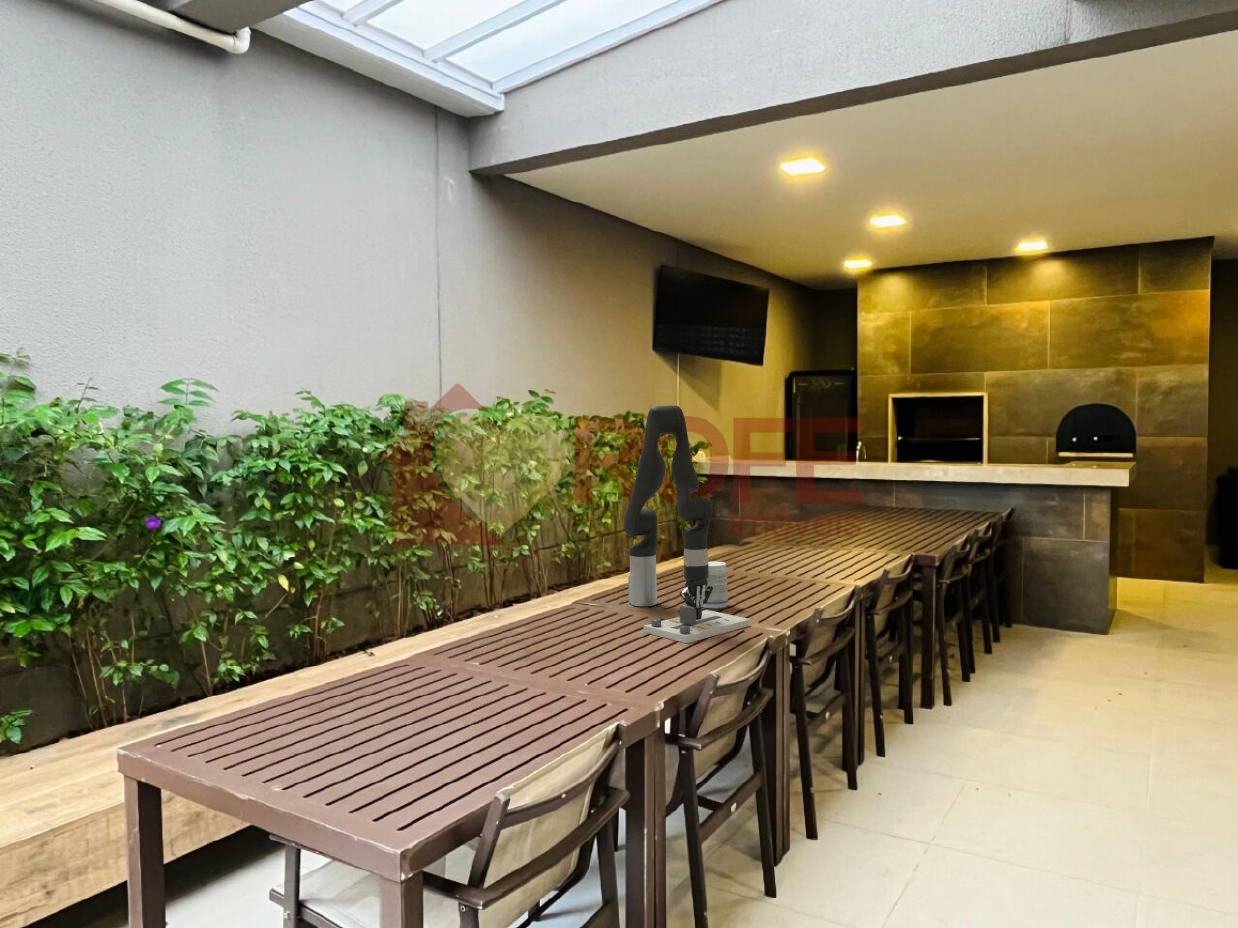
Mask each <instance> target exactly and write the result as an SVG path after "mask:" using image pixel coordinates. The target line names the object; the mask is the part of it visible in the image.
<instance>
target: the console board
mask: <svg viewBox="0 0 1238 928" xmlns="http://www.w3.org/2000/svg"><path fill="white" fill-rule="evenodd" d="M650 622H651V623H649V624H645V625H643V633H645V634H649V635H653V636H657V637H659V638H660V637H661V638H664V639H667V640H672V641H676V642H679V643H684V644H689V643H694V642H696V641H699V640H704V639H707V638H710V637H714V636H719V635H723V634H726V633H729V632H732V631H736V630H739V629H742V628H747V627H750V626H751V619H750V618H745V617H741V616H737V615H734V614H733V615H732V614H728V613H722V612H719V611H718V612H717V611H713V610H710V609H705V610H702V617H701V619H699V620H696V625H688V624H684V623H680V616H677V617H673V618H670V619H665V620H662V619H661V618H653V619H651V621H650Z"/></svg>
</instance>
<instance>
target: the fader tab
mask: <svg viewBox="0 0 1238 928" xmlns="http://www.w3.org/2000/svg"><path fill="white" fill-rule="evenodd" d="M679 617H680V623H684V624H688V625H696V608H695V607H691V606H687V605H680V606H679Z"/></svg>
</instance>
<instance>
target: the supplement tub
mask: <svg viewBox="0 0 1238 928" xmlns="http://www.w3.org/2000/svg"><path fill="white" fill-rule="evenodd" d="M708 563H709V577H708V578H707V581H708V585H709V586H712V587H713V590H712V593H711V595H710V597H709V599H708V601H707V603H706V604H704V605H703V606H702V608H704V609H710V610H711V609H712V610H717V609H724V608H726V607H727V606H728V605H729V597H728V596H729V595H728V594H729V593H728V591H729V590H728V588H729V587H728V569H727V563H726V562H725V561H708ZM704 599H705V597H704ZM704 599H703V600H704Z"/></svg>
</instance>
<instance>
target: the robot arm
mask: <svg viewBox="0 0 1238 928" xmlns="http://www.w3.org/2000/svg"><path fill="white" fill-rule="evenodd" d="M662 435H663V436H664V435H674V439H675V443H676V445H675V451H674V453H673V457H672V461H671V466H670V468H671V474H672V478H673V482H674V484H675V488H676V498H677V499H676V501H677V502H676V503H677V504H676V505H677V506H676V509H677V514H678V516H679V518H680V519H681V520H683V521H684V522H693V521H694V522H695V524H694V526H692V527H689V528H687V529H686V530H685V531H684V533H683V542H684V543H683V544H684V545H683V577H684V579H685V584H684V589H683V590H680V591H679V596H680V597H681V598H682V600H683V601H684V603H685V604H686V606H690V607H695V608H696V620H699V619H701V617H702V611H703V607H702V606H703V605H704V604H706V603H707V601H708V599H709V597H710V595H711V593H712V590H713V587H712V586H709V585H708V581H707V578H708V577H709V563H708V562H709V551H708V532H709V528H710V525H711V520H712V517H713V511H714V510H713V504H712V501H711V500H710V499H709V498H708V497H705V496H697V497H696V496H695V497H690V494H693V493H695V492H697V490H699V487H700V483H699V479H698V476H697V473H696V470H695V467H694V464H693V460H692V454H691V449H690V444H689V443H690V441H689V436H688V429H687V423H686V419H685V415H684V412H683V409H682V408H681V407H680V406H679V405H672V404H670V405H655V406H652V407H651V408H649V410H648V413H647V416H646V423H645V431H644V437H643V443H642V444H643V446H642V449H641V454H640V459H639V463H638V465H637V470H636V473H635V479H634V484H633V485H634V486H633V489H632V493H631V497H630V498H629V503H628V504H627V509H626V511H625V514H624V518H623V530H624V532H625V534H626V535H628V536H631V537H641V536H643V537H642V539H641V540H639V541H638V542H637V543H635V544H633V545H630V547H629V550H628V551H629V576H628V577H627V579H628V580H627V581H628V584H627V585H628V587H627V588H628V604H630V605H631V606H635V607H652V606H655V605H657V604H658V587H657V584H658V583H657V546H658V541H657V540H658V517H657V516H658V515H657V513H656V512H655V510H654V509H653V508H651V507H649V508H647V507H646V508H644V507H645V505H646V503H647V502H649V500H650V499H651V498H652V497H653V496H654V495H655V494H656V493H658V491H659V490H660V488H661V487H662V485H663V483H664V478H665V475H666V471H667V465H666V462H665V459H664V457H663V455H662V453H661V451H660V448H659V440H660V437H661V436H662ZM704 597H705V599H704ZM703 599H704V600H703Z"/></svg>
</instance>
